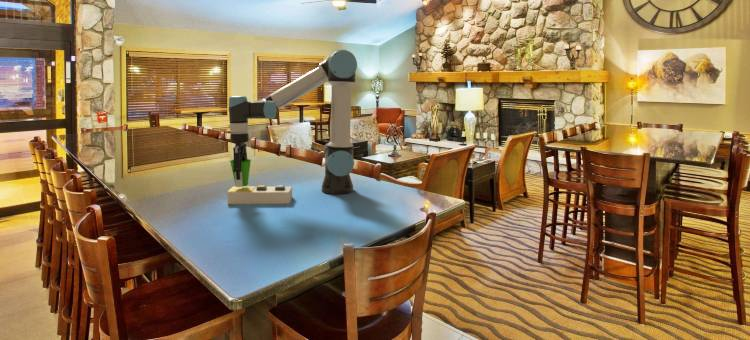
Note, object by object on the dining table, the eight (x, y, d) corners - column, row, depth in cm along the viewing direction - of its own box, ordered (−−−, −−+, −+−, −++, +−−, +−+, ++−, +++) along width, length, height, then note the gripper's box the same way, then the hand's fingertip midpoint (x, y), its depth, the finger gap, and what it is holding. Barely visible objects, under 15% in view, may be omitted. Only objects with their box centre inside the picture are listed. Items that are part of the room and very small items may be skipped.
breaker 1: (266, 198, 209) (266, 185, 208) (265, 201, 206) (264, 186, 205) (258, 198, 209) (258, 185, 208) (257, 201, 206) (256, 186, 204)
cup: (246, 188, 201) (245, 162, 199) (226, 187, 202) (225, 161, 200) (255, 183, 209) (254, 159, 207) (237, 182, 211) (235, 158, 209)
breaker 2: (285, 198, 210) (284, 184, 209) (284, 200, 206) (283, 186, 205) (276, 198, 210) (276, 185, 208) (275, 200, 206) (275, 186, 205)
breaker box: (292, 197, 214) (292, 185, 213) (289, 203, 203) (288, 191, 202) (233, 197, 212) (233, 186, 211) (227, 203, 201) (227, 191, 200)
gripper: (236, 129, 212) (238, 179, 216) (223, 135, 191) (226, 190, 195) (253, 130, 212) (255, 179, 217) (242, 135, 191) (244, 190, 195)
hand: (241, 184), depth 206 cm, fingers closed on cup, 9 cm apart
